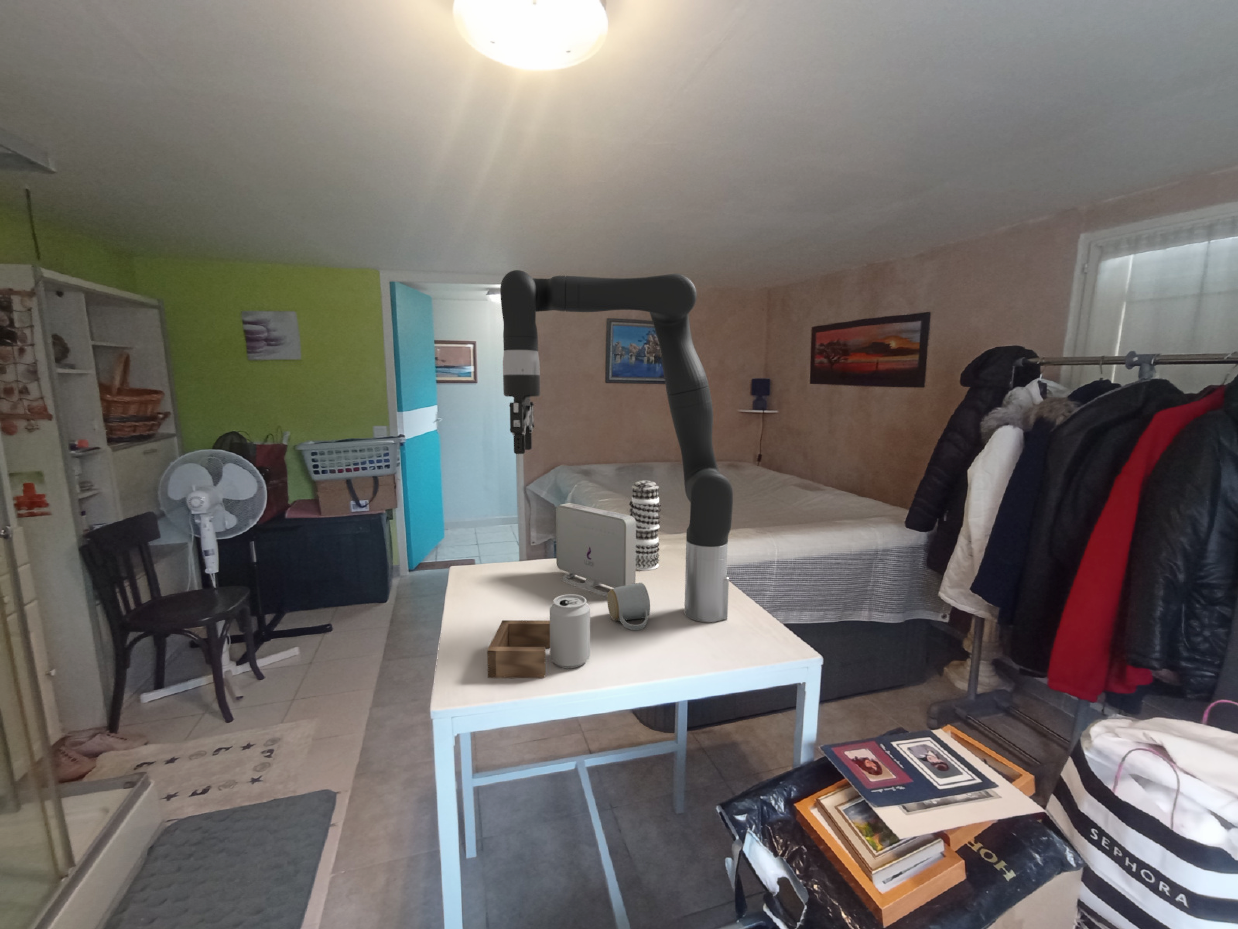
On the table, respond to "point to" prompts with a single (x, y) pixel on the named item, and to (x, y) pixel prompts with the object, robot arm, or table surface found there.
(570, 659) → the can
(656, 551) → the decorative candle
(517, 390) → the robot arm
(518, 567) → the table surface
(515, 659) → the dock
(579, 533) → the network device
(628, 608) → the ceramic mug
